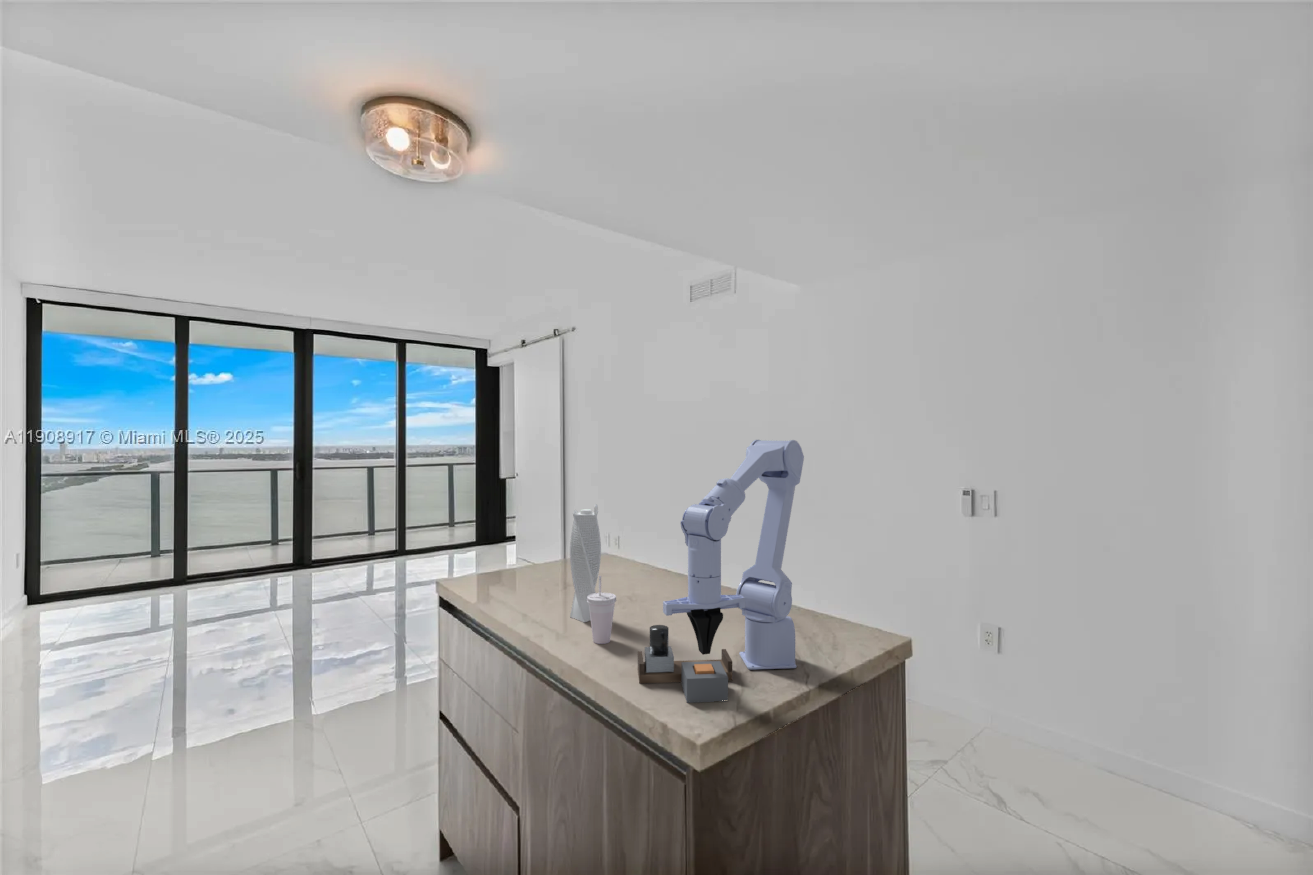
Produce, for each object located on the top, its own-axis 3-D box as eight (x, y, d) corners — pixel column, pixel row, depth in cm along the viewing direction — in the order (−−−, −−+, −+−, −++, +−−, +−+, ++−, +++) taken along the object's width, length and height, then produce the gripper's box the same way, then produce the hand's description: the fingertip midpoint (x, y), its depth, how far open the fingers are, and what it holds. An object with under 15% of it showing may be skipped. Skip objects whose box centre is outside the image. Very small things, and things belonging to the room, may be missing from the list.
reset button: (710, 684, 101) (711, 663, 101) (714, 691, 98) (714, 670, 98) (694, 684, 101) (694, 664, 101) (696, 692, 98) (696, 671, 98)
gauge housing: (719, 683, 103) (719, 661, 103) (728, 701, 96) (728, 677, 96) (681, 684, 102) (681, 662, 102) (686, 702, 95) (686, 678, 95)
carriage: (670, 661, 109) (670, 623, 109) (673, 671, 104) (673, 632, 104) (644, 661, 108) (644, 623, 108) (646, 672, 103) (646, 632, 103)
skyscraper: (608, 617, 140) (608, 503, 140) (584, 625, 134) (584, 506, 134) (587, 611, 145) (587, 500, 145) (563, 617, 140) (564, 503, 140)
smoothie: (601, 633, 129) (601, 571, 129) (622, 640, 125) (622, 576, 124) (580, 641, 124) (580, 576, 124) (601, 648, 120) (601, 581, 120)
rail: (725, 667, 110) (725, 649, 110) (732, 680, 104) (732, 661, 104) (637, 669, 109) (637, 651, 109) (639, 683, 103) (639, 664, 103)
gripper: (733, 566, 105) (733, 639, 105) (657, 571, 101) (657, 648, 101) (750, 575, 98) (750, 654, 98) (670, 581, 94) (670, 663, 94)
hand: (704, 652), depth 99 cm, fingers closed
